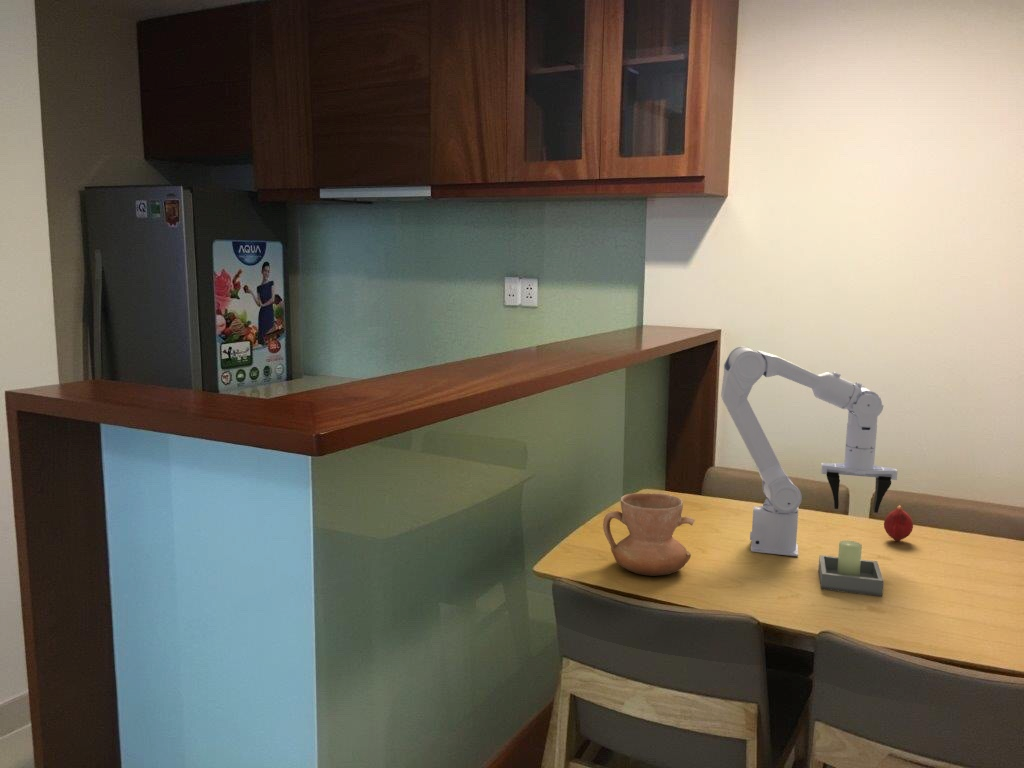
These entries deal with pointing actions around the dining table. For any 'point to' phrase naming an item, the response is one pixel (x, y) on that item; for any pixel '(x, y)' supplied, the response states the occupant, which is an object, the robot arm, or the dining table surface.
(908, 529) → the onion
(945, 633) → the dining table surface
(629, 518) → the ceramic jug
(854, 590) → the tray
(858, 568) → the pale green cylinder
